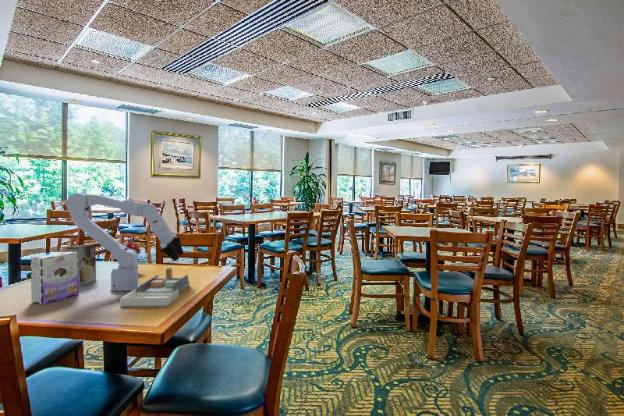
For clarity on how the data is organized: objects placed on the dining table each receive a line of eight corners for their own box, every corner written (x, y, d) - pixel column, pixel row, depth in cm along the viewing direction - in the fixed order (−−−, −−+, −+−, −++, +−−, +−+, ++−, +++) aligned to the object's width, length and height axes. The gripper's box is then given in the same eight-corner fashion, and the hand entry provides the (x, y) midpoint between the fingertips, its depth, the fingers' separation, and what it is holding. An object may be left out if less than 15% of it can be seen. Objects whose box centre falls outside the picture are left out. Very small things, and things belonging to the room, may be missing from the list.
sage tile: (165, 287, 148) (165, 282, 148) (168, 284, 152) (168, 279, 152) (175, 287, 148) (175, 282, 148) (178, 284, 152) (178, 279, 152)
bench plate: (138, 296, 142) (138, 284, 141) (155, 285, 159) (155, 274, 158) (176, 296, 142) (176, 284, 142) (189, 285, 159) (189, 274, 159)
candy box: (69, 293, 146) (68, 251, 145) (79, 294, 144) (78, 252, 143) (30, 302, 133) (29, 256, 132) (41, 304, 131) (40, 257, 130)
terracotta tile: (150, 287, 148) (150, 282, 148) (154, 284, 152) (154, 279, 151) (161, 287, 148) (160, 282, 148) (164, 284, 152) (164, 279, 152)
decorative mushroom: (138, 274, 179) (138, 243, 178) (118, 275, 177) (118, 243, 176) (142, 270, 189) (142, 240, 188) (123, 271, 186) (123, 240, 186)
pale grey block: (154, 282, 154) (154, 269, 153) (156, 281, 156) (156, 268, 155) (181, 282, 154) (181, 269, 154) (183, 281, 156) (183, 268, 156)
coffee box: (84, 280, 167) (83, 244, 167) (96, 280, 166) (96, 244, 165) (66, 285, 158) (66, 247, 158) (79, 285, 157) (79, 247, 156)
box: (120, 306, 129) (120, 298, 129) (135, 296, 142) (135, 288, 141) (167, 306, 130) (167, 297, 130) (178, 296, 142) (178, 288, 142)
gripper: (164, 229, 149) (182, 258, 152) (174, 221, 163) (191, 247, 166) (148, 237, 149) (167, 266, 152) (160, 229, 163) (177, 255, 166)
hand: (179, 257), depth 159 cm, fingers open, 7 cm apart
